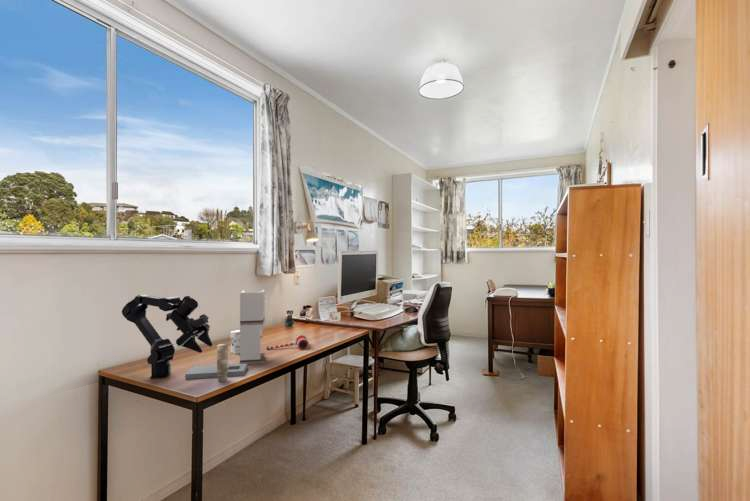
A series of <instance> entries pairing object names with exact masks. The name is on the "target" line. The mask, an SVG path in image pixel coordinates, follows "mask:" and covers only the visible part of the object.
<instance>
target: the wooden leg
mask: <svg viewBox="0 0 750 501" xmlns="http://www.w3.org/2000/svg"><path fill="white" fill-rule="evenodd" d="M216 348H217V349H216V365H217V374H218V377H217V379H218V382H226V381H227V378H228V376H227V373H228V365H229V364H228V363H229V360H228V359H229V351H228V350H229V344H227V343H221V344H219V343H218V344H217V345H216Z"/></svg>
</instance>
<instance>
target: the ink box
mask: <svg viewBox="0 0 750 501" xmlns="http://www.w3.org/2000/svg"><path fill="white" fill-rule="evenodd" d="M230 353H231V354H233V355H238V354H240V329H237V330H231V331H230Z"/></svg>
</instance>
